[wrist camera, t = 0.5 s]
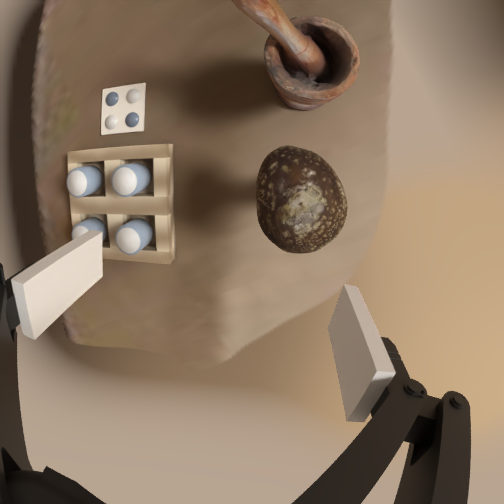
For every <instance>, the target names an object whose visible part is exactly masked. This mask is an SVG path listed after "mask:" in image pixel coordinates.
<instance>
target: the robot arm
mask: <svg viewBox="0 0 504 504" xmlns="http://www.w3.org/2000/svg"><path fill="white" fill-rule="evenodd" d="M102 277H103V272H102V232H101V231H96V230H92V229H91V230H90V231H88V232H86V233H84V234H83V235H81V236H79V237H77V238H76V239H74V240H72V241H71V242H69V243H67V244H65V245H64V246H62V247H60V248H59V249H57V250H56V251H54V252H52V253H51V254H49V255H47V256H46V257H44V258H43V259H41V260H39V261H36V262H33V263H32V264H30V265H28V266H27V267H26V268H24V269H22V270H21V272H20V271H19V272H18V273H16V274H15V275H13V276H12V277H10V278H9V279H7V280H6V281H5V278H4V272H3V265H2V264H1V263H0V504H106V503H104V502H103V501H101V500H100V499H98V498H97V497H96V496H94V495H93V494H91V493H90V492H89V491H87V490H86V489H85V488H83V487H82V486H81V485H80V484H78V483H77V482H76V481H74V480H71V479H69V478H68V477H65V476H64V475H62V474H60V473H58V472H56V471H54V470H53V469H51V468H49V467H47V466H46V468H45V469H44V471H43V472H38V471H33V469H32V467H31V465H30V462H29V460H28V456H27V451H26V446H25V441H24V434H23V427H22V419H21V411H20V401H19V390H18V372H17V332H16V326H18V325H19V324H21V328H22V332H23V334H24V335H25V336H27V337H29V338H31V339H33V340H35V339H36V338H37V337H38V336H39V335H40V334H41V333H42V332H43V331H44V330H45V329H46V328H47V327H48V326H50V324H52V323H53V322H54V320H56V319H57V318H58V317H59V316H60V315H61V314H62V313H63V312H64V311H65V310H66V309H67V308H68V307H70V306H71V305H72V304H73V303H74V302H75V301H76V300H77V299H78V298H79V297H80V296H81V295H83V294H84V293H85V292H86V291H87V290H88V289H89V288H90V287H91V286H93V285H94V284H95V283H96V282H97V281H98V280H99V279H100V278H102ZM328 331H329V335H330V340H331V344H332V349H333V353H334V358H335V363H336V368H337V373H338V378H339V383H340V388H341V393H342V398H343V404H344V409H345V415H346V421H352V422H364V421H365V420H366V418H367V417H368V416H369V414H370V413H371V416H372V419H371V420H370V421H369V422H368V424H367V425H366V426H365V427H364V428H363V430H362V431H361V432H360V433H359V435H358V436H357V437H356V438H355V439H354V440H353V442H352V443H351V444H350V445H349V446H348V447H347V449H346V450H345V451H344V452H343V453H342V454H341V455H340V456H339V457H338V459H337V460H336V461H335V462H334V463H333V464H332V465H331V466H330V467H329V468H328V469H327V470H326V471H325V472H324V473H323V474H322V475H321V476H320V477H319V478H318V480H317V481H315V482H314V483H313V484H312V485H311V486H310V487H309V488H308V489H307V490H306V491H305V492H304V493H303V494H302V495H301V496H300V497H299V498H297V499H296V500H295V501H294V502H293V503H292V504H361V503H362V501H363V500H364V499H365V498H366V496H367V495H368V494H369V492H370V491H371V489H372V488H373V486H374V485H375V484H376V482H377V481H378V480H379V478H380V477H381V475H382V474H383V472H384V471H385V470H386V468H387V467H388V465H389V463H390V462H391V460H392V459H393V457H394V456H395V454H396V452H397V451H398V449H399V448H400V446H401V444H402V443H403V441H405V442H409V443H410V444H409V449H408V453H407V458H406V462H405V466H404V470H403V474H402V477H401V481H400V484H399V488H398V492H397V495H396V498H395V501H394V504H467V499H468V490H469V478H470V459H471V422H470V405H469V402H468V401H467V399H466V398H465V397H464V396H463V395H462V394H460V393H458V392H454V391H448V392H447V393H445V394H444V396H443V397H442V399H439V398H435V397H432V396H429V395H427V391H426V389H425V388H424V386H423V385H422V384H421V383H419V382H418V381H416V380H413V379H410V377H409V375H408V372H407V370H406V368H405V366H404V364H403V362H402V360H401V357H400V355H399V354H398V351H397V349H396V346H395V345H394V344H393V343H392V342H391V341H390V340H389V339H388V338H385V337H380V335H379V333H378V330H377V328H376V326H375V324H374V321H373V319H372V317H371V315H370V313H369V311H368V308H367V306H366V304H365V302H364V300H363V298H362V296H361V294H360V292H359V289H358V287H356V286H351V285H346V284H344V285H343V287H342V290H341V293H340V296H339V299H338V302H337V305H336V307H335V310H334V313H333V315H332V318H331V321H330V323H329V326H328Z"/></svg>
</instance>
